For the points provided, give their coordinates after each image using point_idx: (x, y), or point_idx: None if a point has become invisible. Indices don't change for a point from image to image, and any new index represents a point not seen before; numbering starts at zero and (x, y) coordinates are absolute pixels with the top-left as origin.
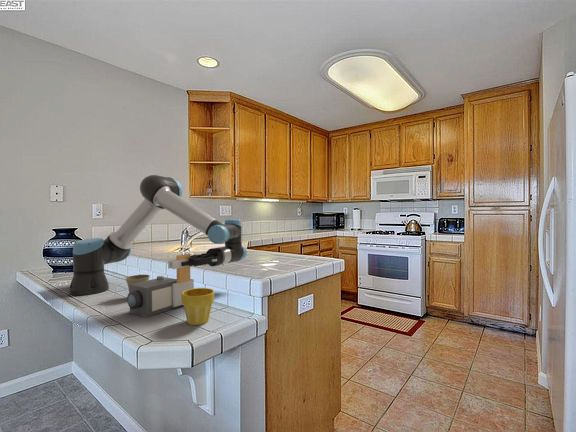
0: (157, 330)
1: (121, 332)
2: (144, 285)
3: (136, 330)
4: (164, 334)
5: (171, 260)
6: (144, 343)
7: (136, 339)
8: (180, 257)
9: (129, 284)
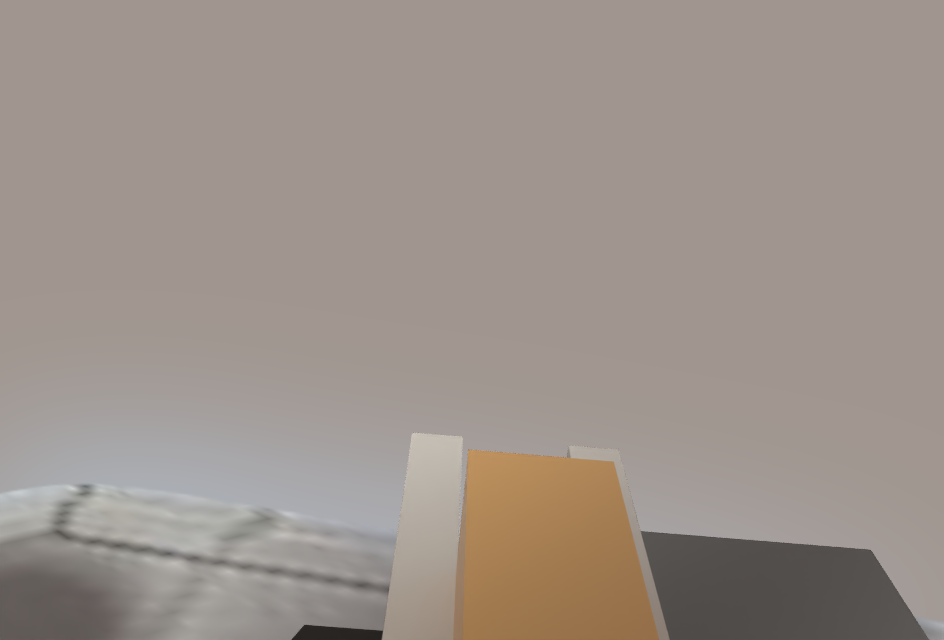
0: (135, 633)
1: (368, 542)
2: (664, 574)
3: (299, 586)
4: (27, 609)
5: (624, 503)
6: (86, 506)
7: (179, 519)
8: (461, 532)
9: (868, 550)
